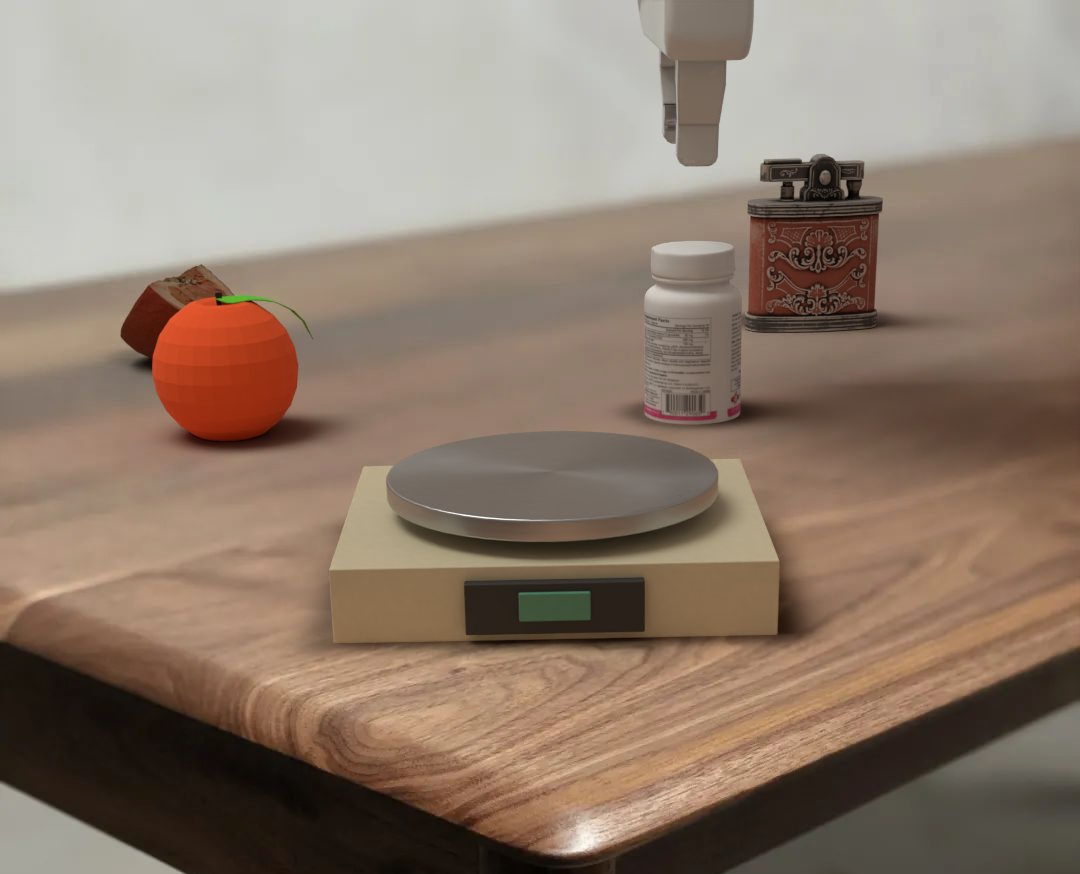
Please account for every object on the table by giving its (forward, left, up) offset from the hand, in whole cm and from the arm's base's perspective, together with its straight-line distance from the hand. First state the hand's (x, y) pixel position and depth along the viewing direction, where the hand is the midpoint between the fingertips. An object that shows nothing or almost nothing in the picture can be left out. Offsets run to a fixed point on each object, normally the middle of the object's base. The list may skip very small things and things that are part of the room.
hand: (688, 153), depth 86 cm
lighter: (-9, -23, -13) cm, 28 cm away
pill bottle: (0, 0, -13) cm, 13 cm away
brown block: (+28, -17, -13) cm, 35 cm away
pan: (+7, +25, -9) cm, 28 cm away
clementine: (+22, +2, -13) cm, 25 cm away
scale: (+7, +25, -13) cm, 29 cm away
